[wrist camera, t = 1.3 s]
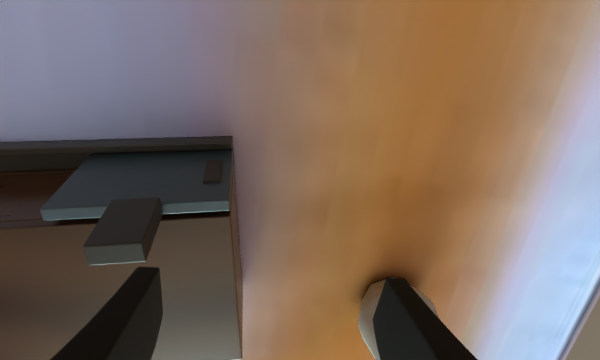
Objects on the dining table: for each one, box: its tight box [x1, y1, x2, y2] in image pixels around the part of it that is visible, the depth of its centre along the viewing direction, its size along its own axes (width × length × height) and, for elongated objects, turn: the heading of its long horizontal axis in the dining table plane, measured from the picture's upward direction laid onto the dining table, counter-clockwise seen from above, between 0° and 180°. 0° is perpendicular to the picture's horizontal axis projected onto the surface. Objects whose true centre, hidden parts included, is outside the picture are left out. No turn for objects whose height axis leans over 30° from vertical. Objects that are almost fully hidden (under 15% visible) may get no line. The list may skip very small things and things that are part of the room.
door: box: [40, 150, 233, 265], centre depth 17 cm, size 1×8×9 cm, turn 88°
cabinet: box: [0, 136, 243, 360], centre depth 20 cm, size 12×15×6 cm
